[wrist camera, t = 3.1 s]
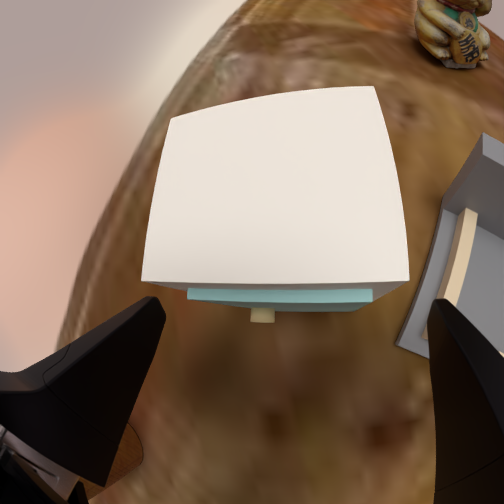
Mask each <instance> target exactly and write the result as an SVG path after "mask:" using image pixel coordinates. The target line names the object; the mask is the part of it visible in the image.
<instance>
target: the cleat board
mask: <svg viewBox="0 0 504 504" xmlns="http://www.w3.org/2000/svg"><path fill="white" fill-rule="evenodd" d="M439 298H446V299H448V300H449V301H450V302H451V303H452V304H453V305H454V306H455V307H456V308H457V309H458V310H459V311H460V312H461V313H462V314H463V315H464V316H465V317H466V318H467V319H468V320H469V321H470V322H471V323H472V324H473V325H474V326H475V327H476V328H477V329H478V330H479V331H480V332H481V333H482V334H483V335H484V336H485V337H486V338H487V339H488V340H489V342H490V343H491V344H492V345H493V346H494V347H495V348H496V349H497V350H498V351H499V353H500V354H501V355H502V356H503V357H504V144H503V143H501V142H500V141H498V140H496V139H494V138H492V137H491V136H489V135H487V134H485V133H482V134H481V136H480V138H479V140H478V142H477V143H476V145H475V147H474V149H473V150H472V152H471V154H470V155H469V157H468V159H467V160H466V162H465V164H464V165H463V167H462V168H461V170H460V172H459V173H458V175H457V176H456V178H455V179H454V181H453V182H452V184H451V185H450V187H449V188H448V190H447V191H446V193H445V194H444V196H443V199H442V204H441V208H440V213H439V217H438V222H437V226H436V230H435V234H434V238H433V241H432V245H431V248H430V252H429V255H428V259H427V262H426V265H425V268H424V271H423V274H422V277H421V280H420V283H419V286H418V289H417V292H416V294H415V297H414V300H413V302H412V305H411V308H410V310H409V313H408V315H407V318H406V320H405V322H404V325H403V327H402V329H401V332H400V334H399V336H398V338H397V341H396V343H395V344H396V345H398V346H400V347H403V348H405V349H407V350H410V351H412V352H415V353H417V354H419V355H422V356H424V357H427V358H429V346H428V334H427V319H428V315H429V312H430V308H431V305H432V302H433V300H434V299H439Z"/></svg>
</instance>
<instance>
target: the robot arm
mask: <svg viewBox="0 0 504 504" xmlns="http://www.w3.org/2000/svg"><path fill="white" fill-rule="evenodd" d="M165 321H166V313H165V311H164V309H163V307H162V305H161V303H160V301H159V299H158V298H157V297H152V296H147V297H145V298H143V299H141V300H140V301H138V302H136V303H135V304H133V305H131V306H130V307H128V308H126V309H125V310H123V311H121V312H120V313H118V314H117V315H115V316H113V317H112V318H110V319H108V320H107V321H105V322H104V323H102V324H100V325H99V326H97V327H96V328H94V329H92V330H91V331H89V332H87V333H86V334H84V335H83V336H81V337H79V338H78V339H76V340H75V341H73V342H72V343H70V344H68V345H67V346H65V347H63V348H62V349H60V350H58V351H57V352H55V353H54V354H52V355H50V356H48V357H46V358H45V359H43V360H41V361H39V362H37V363H36V364H34V365H32V366H30V367H28V368H27V369H24V370H22V371H20V372H12V373H11V372H1V371H0V504H89V503H88V499H87V496H86V492H85V488H84V484H83V482H81V481H80V480H79V477H82V478H84V479H86V480H88V481H90V482H92V483H94V484H96V485H99V486H101V487H103V488H104V487H105V486H106V483H107V480H108V477H109V474H110V471H111V468H112V465H113V462H114V459H115V456H116V454H117V451H118V448H119V445H120V442H121V439H122V436H123V434H124V431H125V428H126V426H127V423H128V420H129V418H130V415H131V412H132V410H133V407H134V405H135V402H136V400H137V397H138V394H139V392H140V389H141V387H142V384H143V382H144V380H145V377H146V375H147V372H148V370H149V367H150V365H151V363H152V360H153V358H154V355H155V352H156V349H157V346H158V343H159V340H160V337H161V333H162V330H163V327H164V324H165ZM427 334H428V346H429V364H430V376H431V384H432V392H433V402H434V414H435V430H436V478H435V493H434V503H433V504H504V357H503V356H502V355H501V354H500V353H499V351H498V350H497V349H496V348H495V347H494V346H493V345H492V344H491V343H490V342H489V340H488V339H487V338H486V337H485V336H484V335H483V334H482V333H481V332H480V331H479V330H478V329H477V328H476V327H475V326H474V325H473V324H472V323H471V322H470V321H469V320H468V319H467V318H466V317H465V316H464V315H463V314H462V313H461V312H460V311H459V310H458V309H457V308H456V307H455V306H454V305H453V304H452V303H451V302H450V301H449V300H448V299H446V298H439V299H434V300H433V302H432V305H431V308H430V312H429V315H428V319H427Z"/></svg>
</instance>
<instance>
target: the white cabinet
mask: <svg viewBox="0 0 504 504" xmlns="http://www.w3.org/2000/svg"><path fill="white" fill-rule="evenodd" d="M141 281H144V282H148V283H152V284H157V285H161V286H166V287H170V288H175V289H180V290H184V291H188V293H187V299H190V300H196V301H203V302H209V303H216V304H223V305H230V306H238V307H245V308H251V322H262V323H274V320H275V311H290V312H349V311H355V310H357V309H359V308H361V307H363V306H365V305H367V304H369V303H371V302H373V301H374V300H376V299H378V298H380V297H381V296H383V295H385V294H387V293H389V292H390V291H392V290H394V289H396V288H398V287H399V286H401V285H403V284H404V283H406V282H408V281H409V264H408V250H407V239H406V230H405V221H404V214H403V207H402V200H401V194H400V188H399V182H398V177H397V172H396V167H395V162H394V157H393V153H392V149H391V145H390V140H389V136H388V133H387V129H386V125H385V122H384V118H383V115H382V111H381V108H380V105H379V101H378V98H377V95H376V92H375V89H374V86H359V87H337V88H324V89H313V90H303V91H295V92H287V93H280V94H274V95H268V96H262V97H256V98H251V99H246V100H241V101H236V102H231V103H227V104H223V105H218V106H214V107H210V108H206V109H202V110H199V111H195V112H191V113H188V114H184V115H181V116H178V117H174V118H171V121H170V124H169V128H168V132H167V136H166V140H165V144H164V148H163V152H162V156H161V161H160V165H159V170H158V175H157V179H156V184H155V189H154V195H153V200H152V206H151V211H150V217H149V224H148V230H147V237H146V244H145V252H144V260H143V269H142V278H141Z"/></svg>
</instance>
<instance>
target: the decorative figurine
mask: <svg viewBox="0 0 504 504" xmlns="http://www.w3.org/2000/svg"><path fill="white" fill-rule="evenodd" d="M417 5H418V8H417V11H416V15H415V19H414V24H415V29H416V33H417V36H418V38H419V41H420V43H421V44H422V45H423V47H424V48H425V49H426V50H428V51H429V52H430V53H431V54H432V55H433V56H434V57H436V58H437V59H440V60H441V62H442V63H443V64H444V65H445V66H446V67H448V68H449V67H450V68H457V69H458V68H475V67H476V63H477V62H478V61H484V60H488V55H487V53H486V51H485V50H487V49H488V48H489V46H490V37H489V34H488V33H487V31H486V30H485V29H484V28H483V27H481V26H480V25H479V22H478V19H477V17H479V16H484V15H486V14H488V13H489V12H490V10H491V7H492V0H418V1H417Z"/></svg>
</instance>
